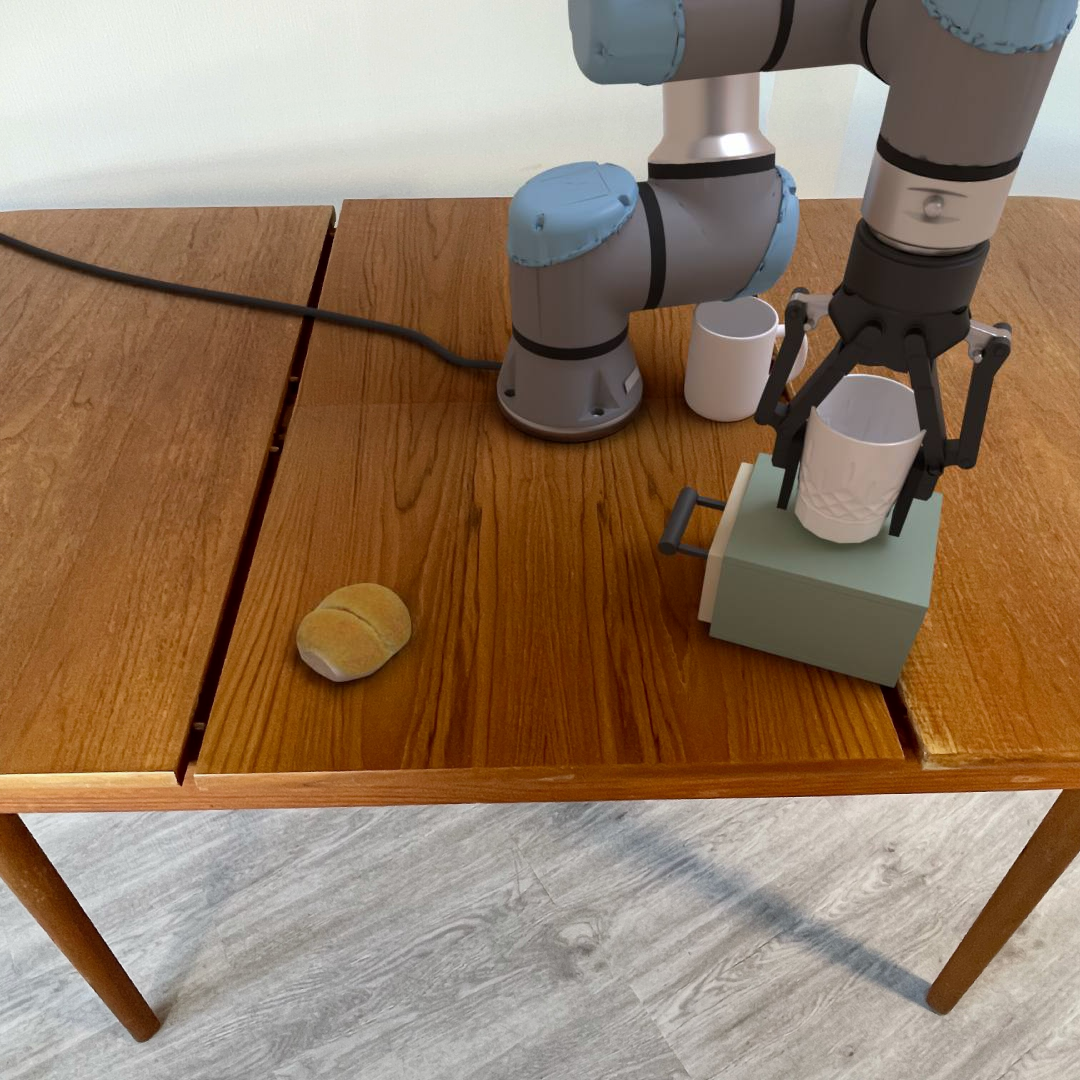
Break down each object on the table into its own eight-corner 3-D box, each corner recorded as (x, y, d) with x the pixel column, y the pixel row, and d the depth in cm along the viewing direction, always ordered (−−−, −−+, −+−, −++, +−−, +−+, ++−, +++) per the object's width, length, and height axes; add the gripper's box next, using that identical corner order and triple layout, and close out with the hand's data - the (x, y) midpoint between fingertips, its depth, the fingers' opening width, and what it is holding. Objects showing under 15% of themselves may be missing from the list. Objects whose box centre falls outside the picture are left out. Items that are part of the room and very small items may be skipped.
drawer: (645, 605, 77) (652, 539, 71) (681, 515, 84) (690, 449, 78) (867, 666, 72) (892, 601, 66) (884, 566, 79) (909, 499, 74)
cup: (678, 376, 100) (688, 293, 93) (789, 375, 100) (807, 291, 93) (688, 424, 95) (698, 339, 87) (805, 422, 95) (825, 337, 87)
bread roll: (430, 626, 76) (425, 594, 74) (355, 700, 71) (346, 669, 69) (358, 583, 80) (350, 551, 77) (281, 651, 75) (270, 619, 72)
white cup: (895, 557, 67) (936, 451, 60) (784, 542, 68) (811, 437, 61) (889, 484, 72) (926, 379, 65) (786, 472, 73) (811, 367, 66)
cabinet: (708, 636, 75) (723, 554, 68) (742, 533, 83) (759, 452, 77) (893, 688, 71) (928, 607, 65) (910, 575, 80) (943, 493, 73)
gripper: (735, 227, 54) (694, 510, 70) (1121, 290, 48) (979, 580, 65) (762, 173, 59) (718, 450, 75) (1115, 225, 53) (984, 511, 70)
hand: (839, 510), depth 70 cm, fingers closed on white cup, 7 cm apart
